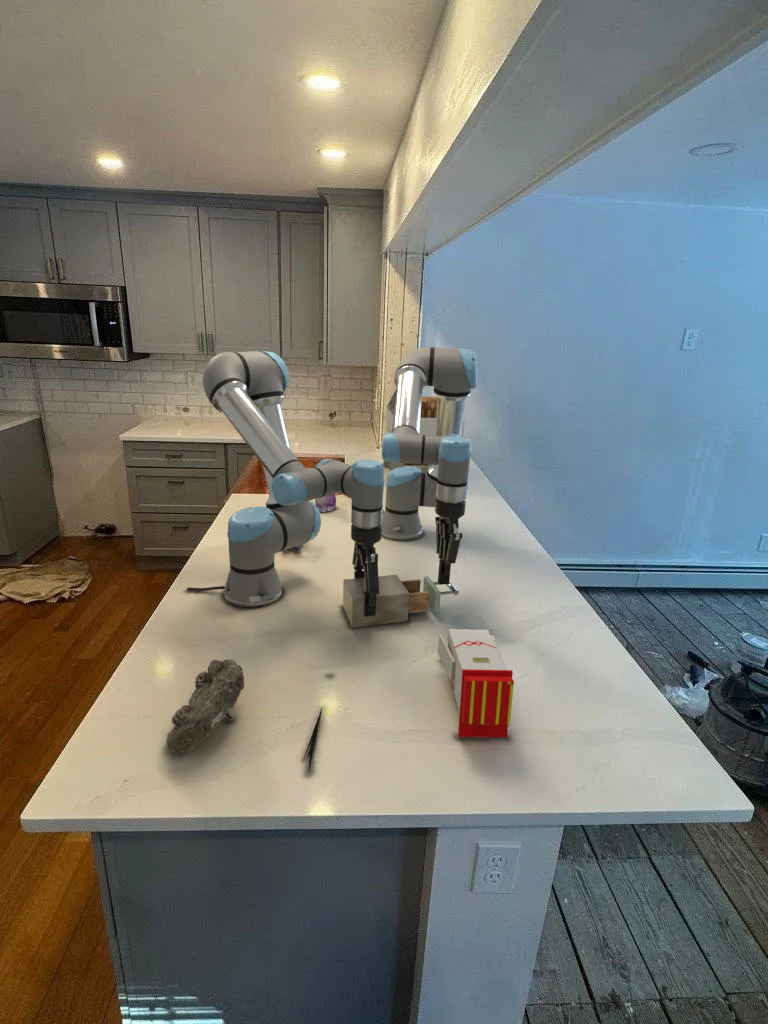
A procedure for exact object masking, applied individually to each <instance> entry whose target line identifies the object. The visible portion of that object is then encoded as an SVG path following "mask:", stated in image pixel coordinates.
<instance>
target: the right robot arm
mask: <svg viewBox="0 0 768 1024" xmlns="http://www.w3.org/2000/svg"><path fill="white" fill-rule="evenodd" d="M476 360H477V359H476V353H475V351H473V350H472V349H468V348H467V349H466V348H461V347H434V346H433V347H431V346H423V347H418V348H416V349H414V350H412V351H410V352H409V353H408V354H406V355H405V356H403V358H402V359H401V360H400V361H399V364H397V367H396V369H395V372H394V377H393V381H394V385H395V387H396V388H397V390H396V389H395V390H396V399H395V407H394V416H393V425H392V433H386V432H385V433H384V434H383V436H382V442H381V457H382V460H383V462H384V461H387V462H395V463H412V464H429V465H430V466H429V465H428V468H427V472H422V469H421V468H420V467H419V466H418V467H417V466H407V465H406V466H404V467H399V468H395V469H393V470H391V471H390V470H389V471H388V473H387V475H386V482H385V487H386V488H385V489H386V490H385V504H384V505H385V507H384V508H385V509H382V510H384V514H382V524H381V525H382V537H385V538H387V539H389V540H395V541H410V540H415V539H418V538H420V537H421V536H422V535H423V525H422V524H421V518H420V515H419V507H425V508H434V513H435V514H436V515H437V516H435V517H434V520H435V521H434V522H435V541H436V542H435V547H436V548H435V549H436V551H435V552H436V554H437V555H438V559H439V560H438V561H439V562H438V573H437V582H438V583H439V586H444V585H446V584H449V581H450V582H451V580H450V579H451V570H452V564H456V563H457V558H458V554H459V549H460V544H461V542H462V539H463V537H464V534H463V532H459V528H460V524H459V519H460V518H462V517H464V515H465V514H466V505H467V504H466V503H467V502H466V500H467V492H468V489H469V486H468V484H469V483H468V482H469V481H468V480H469V472H470V471H469V470H470V462H471V457H472V442H471V440H470V439H469V438H466V437H464V436H463V437H461V433H462V424H463V419H464V413H465V403H466V399H467V398H468V397H469V396H470V395H471V392H472V390H474V389H476V388H477V381H478V380H477V362H476ZM425 387H433V393H434V394H435V396H436V397H438V403H437V415H436V428H435V436H427V435H419V431H420V416H421V401H422V397H423V389H424V388H425Z"/></svg>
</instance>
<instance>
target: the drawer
mask: <svg viewBox="0 0 768 1024" xmlns="http://www.w3.org/2000/svg"><path fill="white" fill-rule="evenodd" d="M401 582H402V583H403V585H404V586H405V588H406V589H407V591H408V592H409V606H408V614H414V613H415V614H416V613H425V612H429V609H431V611H432V612H433V613H434V614H439V613H440V605H441V604H440V603H441V596H444V595H454V596H459V594H460V591H459V590H458V589H457V587H456V586H455V585H454V584H453V582H451V580H450V581H449V584H445V586H446V587H447V588H448V589H449V590H447V591H441V590H440V589H439V588H438V587H437V586H438V585H439V583H438V581H432V579H431V577H429V575H424V576H423V587H422V591H421V579H420V578H417V579H407V580H401ZM439 586H440V585H439ZM429 607H430V608H429Z"/></svg>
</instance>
